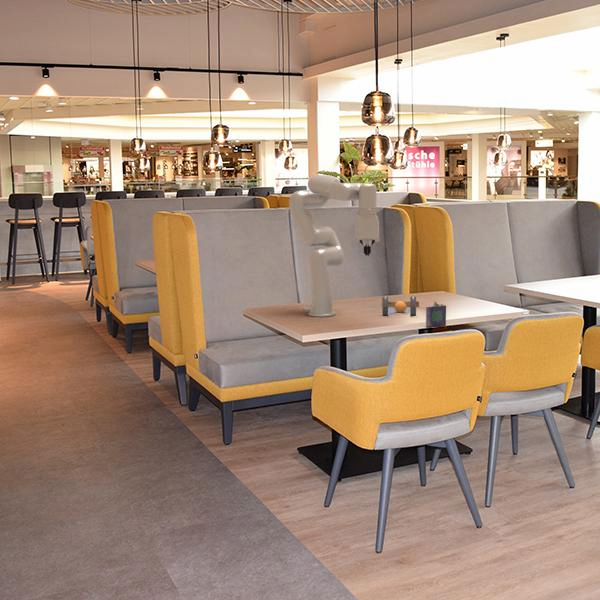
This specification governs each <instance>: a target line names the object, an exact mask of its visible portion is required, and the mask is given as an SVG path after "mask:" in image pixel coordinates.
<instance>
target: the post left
mask: <svg viewBox="0 0 600 600" xmlns="http://www.w3.org/2000/svg"><path fill="white" fill-rule="evenodd" d="M381 297H382V301H381V307H382V310H381V311H382V315H381V316H382V317H383V316H387V317H389V314H388V308H389V307H388V301H389V296H386V295H385V296H381Z"/></svg>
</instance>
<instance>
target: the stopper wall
mask: <svg viewBox="0 0 600 600" xmlns="http://www.w3.org/2000/svg"><path fill="white" fill-rule="evenodd" d="M398 301H399V300H398ZM398 301H397V300H396V301H393V300H392V301H391V300H388V308H394V306H395V304H396V302H398ZM402 301H403V300H402ZM403 302H404V303H405V304H406V308H410V300H407V301H406V300H404V301H403ZM416 308H420V301H417V300H416Z"/></svg>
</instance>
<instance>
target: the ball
mask: <svg viewBox="0 0 600 600" xmlns="http://www.w3.org/2000/svg"><path fill="white" fill-rule="evenodd" d="M393 308H395V310H396V311H397V312H398V313H403V312H404V311H405V310H406V309H407V307H406V304H405V303H404V302H403V300H398V302H396V304H395V306H394V307H393Z"/></svg>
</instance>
